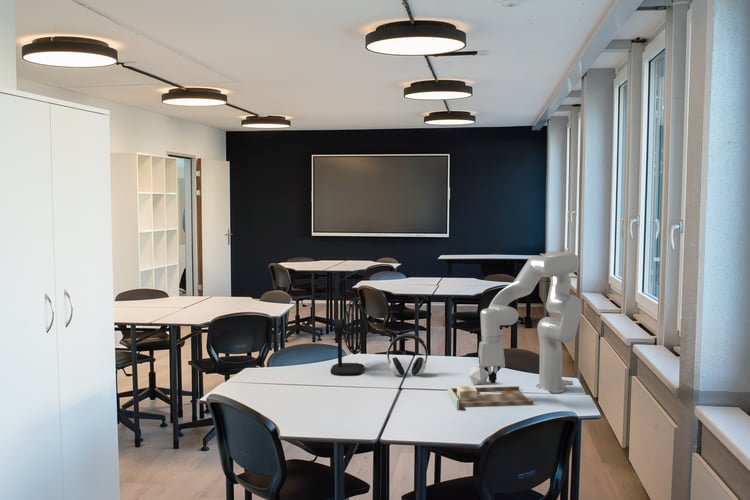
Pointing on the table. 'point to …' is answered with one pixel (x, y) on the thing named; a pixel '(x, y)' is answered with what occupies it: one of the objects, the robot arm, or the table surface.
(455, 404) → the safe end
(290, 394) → the table surface
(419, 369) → the headphones
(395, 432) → the table surface
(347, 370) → the desk fan
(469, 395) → the block
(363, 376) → the table surface
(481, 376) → the die
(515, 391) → the box
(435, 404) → the table surface
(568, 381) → the robot arm
